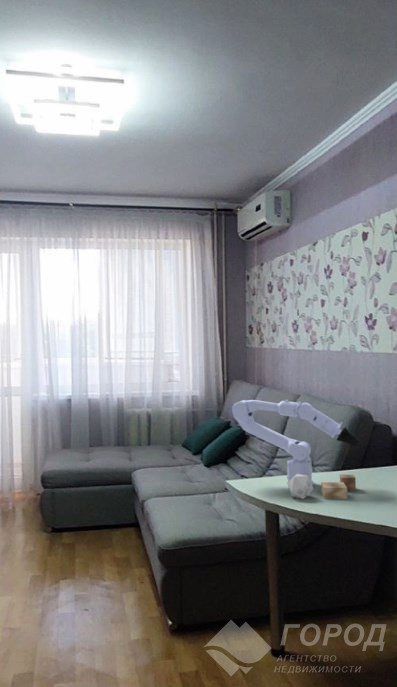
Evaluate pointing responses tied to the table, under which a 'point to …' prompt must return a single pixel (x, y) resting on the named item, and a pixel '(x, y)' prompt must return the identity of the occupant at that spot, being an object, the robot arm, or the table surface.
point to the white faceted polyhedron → (300, 486)
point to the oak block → (334, 490)
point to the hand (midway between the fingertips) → (356, 444)
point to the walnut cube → (349, 482)
